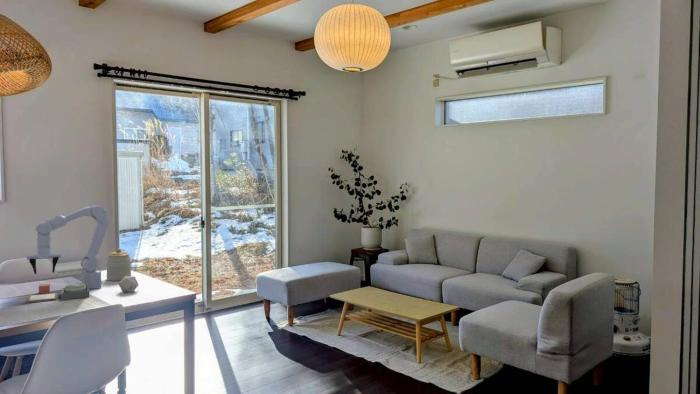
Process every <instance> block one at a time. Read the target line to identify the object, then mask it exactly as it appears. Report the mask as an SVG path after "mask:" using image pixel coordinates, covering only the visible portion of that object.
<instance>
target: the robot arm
mask: <svg viewBox="0 0 700 394" xmlns="http://www.w3.org/2000/svg"><path fill="white" fill-rule="evenodd" d="M82 217H92V218H93V219H94V221H95V222H96V224H97V225H96V226H95V231H94V233H93V236H92V239H91V242H90V244H89V248H88V250H87V252H86V254H85V255H84V258H83V259H82V260H81V261H80V267H81V268H82V270H81V283H85V285H86V286H89V290H92V289H100V288H101V289H102V283H103V281H102V271H101V270H98V265H99V264H98V260H99V254H100V253H99V252H100V249H101V247H102V244H103V240H104V237H105V235H106V232H107V229H108V226H109V224H110V223H109V218H108V215H107V211H106V210H105V208H104V207H103V206H100V205H97V204H92V205H90V206H89V205H87V206H85V207H83V208H80V209H77V210H75V211H73V212H71V213H68V214H67V215H58V214H57V215H55V216H54V217H52V218H50V219H45V221H42V222H39V223H37V225H36V227H35V231H36V233H37V234H36V236H37V238H36V243H37V246H36V247H37V250H36V251H37V254H34V255H33V254H31V255H27V256H26V261H29V264H30V266H31V268H32V271H33V274H34V275H36V274H37V260H43V259H44V260H46V259H52V272H51V273H55V269H56V265H57V263H58V261H59V259H61V258H62V253H52V248H51V247H52V246H51V245H52V244H51V243H52V242H51V241H52V240H51V239H52V238H51V233H52V231H55V230H58V229H60V228H62V227H65V226H67V224H68V222H70V221H71V222H72V221H73V220H74V221H75V220H77V219H79V218H82Z"/></svg>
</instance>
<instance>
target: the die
mask: <svg viewBox="0 0 700 394" xmlns="http://www.w3.org/2000/svg"><path fill="white" fill-rule="evenodd" d="M118 285H119V287H120V290H121V292H122V293H134V292H135V290H136V289H137V288H138V287H139V282H138V280H137V278H136V276H134V275H133V276H132V275H131V276H125V277H124V278H123V279H122V280H121V281H119V283H118Z"/></svg>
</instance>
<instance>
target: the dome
mask: <svg viewBox="0 0 700 394" xmlns="http://www.w3.org/2000/svg"><path fill="white" fill-rule="evenodd" d="M64 288H65V293H66V292H77V291H86V285H85V283H82V282H72V283H67V284H66V285H65V287H64Z"/></svg>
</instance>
